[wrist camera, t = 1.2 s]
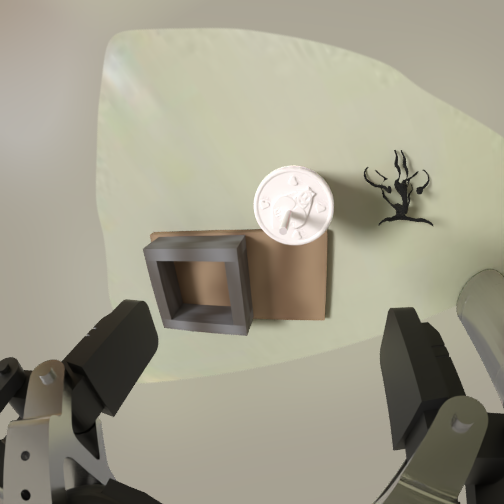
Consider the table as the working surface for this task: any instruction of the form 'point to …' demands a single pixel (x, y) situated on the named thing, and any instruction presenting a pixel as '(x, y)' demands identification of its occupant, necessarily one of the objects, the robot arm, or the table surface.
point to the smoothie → (294, 205)
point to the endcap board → (234, 279)
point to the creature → (402, 191)
